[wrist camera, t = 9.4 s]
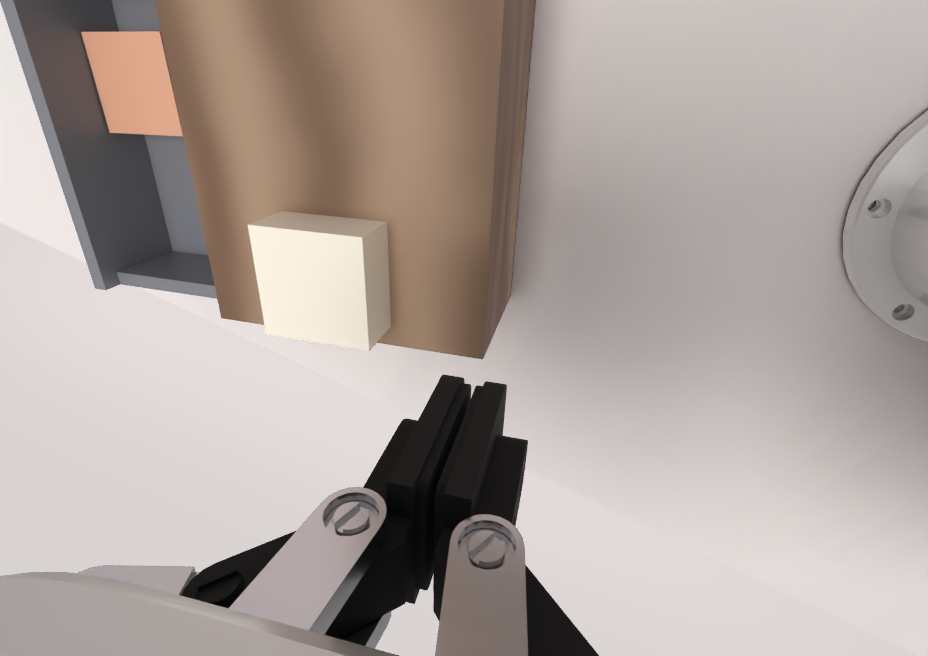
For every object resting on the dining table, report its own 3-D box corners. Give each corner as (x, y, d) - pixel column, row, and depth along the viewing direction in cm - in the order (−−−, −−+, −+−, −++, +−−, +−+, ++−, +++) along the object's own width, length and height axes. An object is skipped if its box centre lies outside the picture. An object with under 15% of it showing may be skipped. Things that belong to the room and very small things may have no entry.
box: (265, -36, 25) (176, -69, 20) (303, 275, 33) (246, 311, 27) (99, -34, 27) (-21, -63, 22) (171, 258, 35) (95, 288, 30)
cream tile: (387, 221, 21) (362, 237, 19) (390, 326, 23) (369, 351, 21) (282, 211, 22) (247, 224, 20) (296, 312, 24) (265, 334, 22)
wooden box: (537, -27, 22) (508, -79, 15) (510, 295, 29) (482, 359, 23) (267, -24, 25) (140, -67, 18) (303, 268, 32) (221, 317, 25)
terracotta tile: (80, 31, 26) (121, 36, 28) (109, 132, 28) (145, 129, 30) (159, 31, 25) (194, 36, 27) (182, 136, 27) (214, 132, 29)
